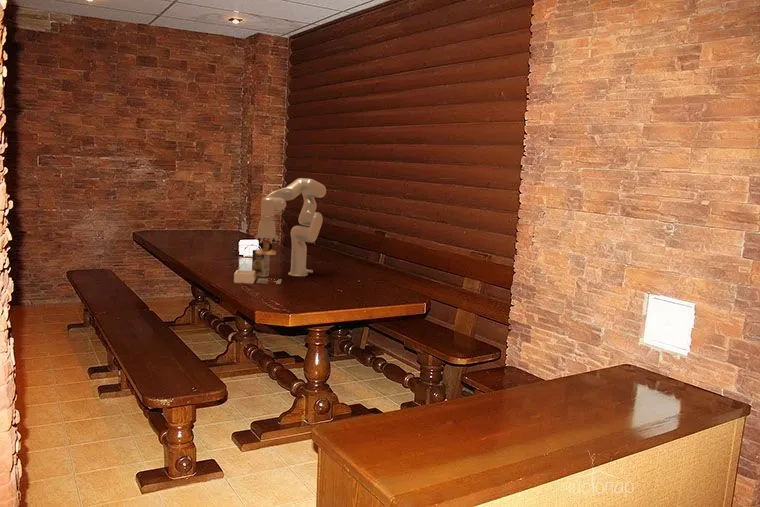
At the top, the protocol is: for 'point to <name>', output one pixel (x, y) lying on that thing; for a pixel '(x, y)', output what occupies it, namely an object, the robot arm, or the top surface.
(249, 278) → the small beige box
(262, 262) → the coffee box
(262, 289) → the top surface
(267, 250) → the lid
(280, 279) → the mat
